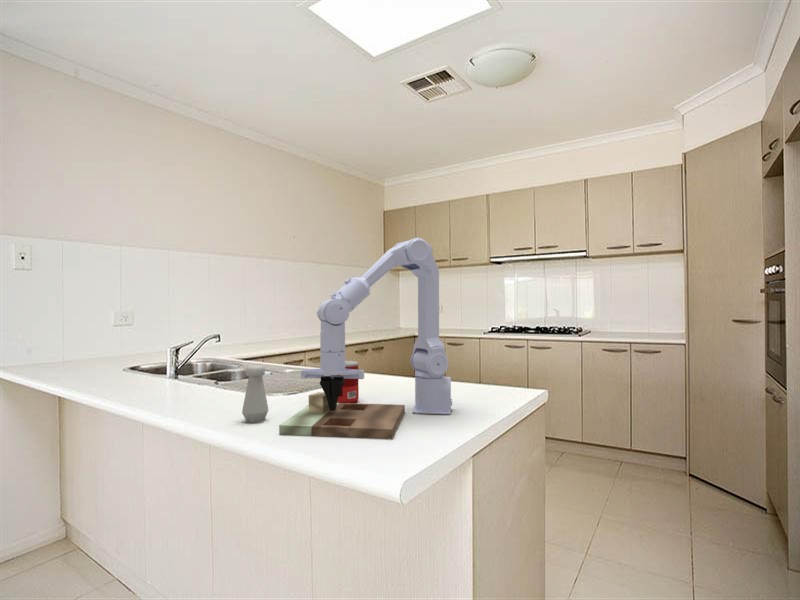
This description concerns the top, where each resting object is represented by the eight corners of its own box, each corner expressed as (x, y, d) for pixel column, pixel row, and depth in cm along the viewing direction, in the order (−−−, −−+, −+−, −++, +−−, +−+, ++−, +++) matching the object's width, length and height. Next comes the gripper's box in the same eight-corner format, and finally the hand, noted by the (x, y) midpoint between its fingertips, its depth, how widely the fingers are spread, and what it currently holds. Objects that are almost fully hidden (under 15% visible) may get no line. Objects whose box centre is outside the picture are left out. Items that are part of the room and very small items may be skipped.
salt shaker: (261, 416, 109) (261, 363, 109) (272, 420, 105) (272, 365, 105) (237, 420, 105) (238, 365, 105) (249, 425, 101) (249, 368, 101)
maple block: (332, 410, 107) (332, 393, 107) (322, 413, 104) (322, 396, 104) (318, 408, 109) (318, 392, 109) (308, 412, 105) (308, 395, 105)
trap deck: (404, 412, 113) (404, 404, 113) (392, 439, 91) (392, 429, 91) (312, 409, 116) (312, 402, 116) (279, 434, 94) (279, 425, 94)
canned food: (361, 399, 128) (360, 360, 129) (354, 405, 121) (354, 364, 121) (335, 398, 130) (335, 360, 130) (327, 405, 122) (326, 364, 122)
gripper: (366, 349, 107) (366, 406, 107) (307, 349, 108) (306, 405, 108) (361, 352, 100) (361, 413, 100) (298, 352, 101) (298, 412, 101)
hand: (332, 409), depth 104 cm, fingers closed
